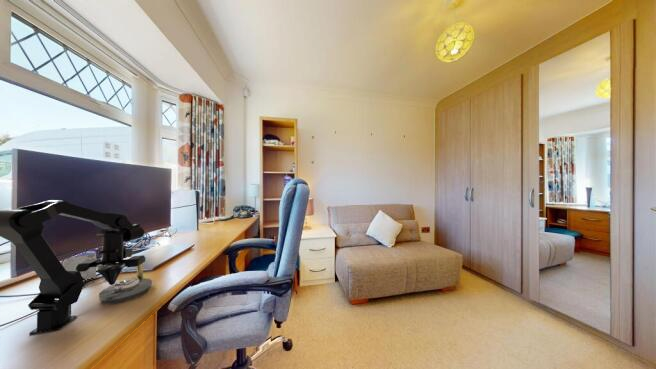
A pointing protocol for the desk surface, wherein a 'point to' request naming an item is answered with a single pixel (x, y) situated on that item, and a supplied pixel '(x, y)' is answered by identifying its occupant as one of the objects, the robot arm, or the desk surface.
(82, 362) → the desk surface
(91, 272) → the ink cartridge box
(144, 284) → the turntable
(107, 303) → the turntable base
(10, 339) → the desk surface
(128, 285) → the cover
